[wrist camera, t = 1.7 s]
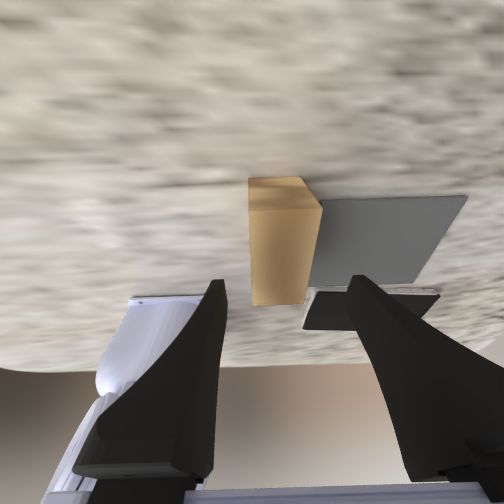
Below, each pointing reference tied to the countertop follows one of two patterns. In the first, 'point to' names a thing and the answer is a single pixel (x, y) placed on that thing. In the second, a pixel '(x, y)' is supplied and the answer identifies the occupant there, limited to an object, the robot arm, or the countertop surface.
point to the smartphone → (336, 315)
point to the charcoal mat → (379, 238)
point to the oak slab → (281, 238)
